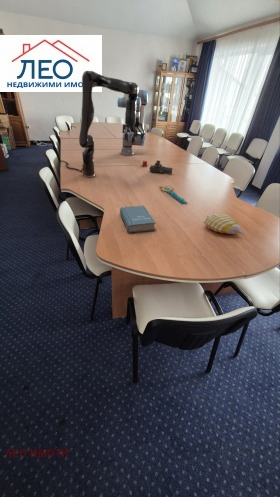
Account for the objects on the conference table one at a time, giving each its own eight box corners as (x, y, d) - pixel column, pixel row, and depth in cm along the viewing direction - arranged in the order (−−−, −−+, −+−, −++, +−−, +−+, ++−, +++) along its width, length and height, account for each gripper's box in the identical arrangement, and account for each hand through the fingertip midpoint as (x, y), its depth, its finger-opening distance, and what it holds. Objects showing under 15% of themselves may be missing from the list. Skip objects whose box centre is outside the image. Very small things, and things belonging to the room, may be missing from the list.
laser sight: (171, 175, 213) (172, 165, 207) (148, 172, 216) (149, 162, 210) (172, 172, 221) (173, 162, 215) (150, 169, 224) (150, 159, 218)
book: (154, 230, 131) (155, 222, 128) (128, 232, 126) (128, 225, 124) (143, 212, 148) (143, 205, 145) (119, 214, 144) (120, 207, 141)
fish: (254, 225, 128) (232, 232, 118) (249, 236, 132) (228, 244, 123) (221, 208, 144) (199, 213, 134) (217, 218, 149) (196, 224, 139)
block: (142, 166, 233) (143, 161, 230) (142, 165, 237) (142, 160, 234) (146, 166, 233) (147, 161, 231) (146, 165, 237) (146, 160, 234)
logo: (159, 187, 187) (159, 186, 186) (169, 186, 189) (169, 185, 189) (175, 204, 161) (175, 203, 161) (187, 203, 164) (187, 202, 163)
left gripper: (120, 115, 161) (119, 139, 171) (133, 118, 153) (131, 143, 163) (127, 115, 165) (127, 138, 175) (140, 118, 157) (139, 142, 167)
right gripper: (121, 116, 202) (121, 141, 215) (148, 118, 201) (146, 143, 213) (122, 115, 208) (122, 140, 221) (149, 117, 207) (147, 142, 219)
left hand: (129, 141), depth 169 cm, fingers open, 8 cm apart
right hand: (134, 142), depth 217 cm, fingers open, 13 cm apart
